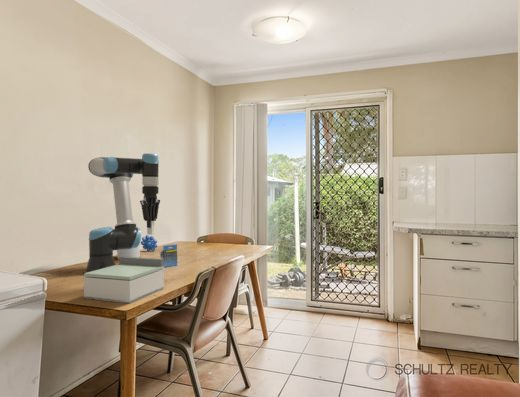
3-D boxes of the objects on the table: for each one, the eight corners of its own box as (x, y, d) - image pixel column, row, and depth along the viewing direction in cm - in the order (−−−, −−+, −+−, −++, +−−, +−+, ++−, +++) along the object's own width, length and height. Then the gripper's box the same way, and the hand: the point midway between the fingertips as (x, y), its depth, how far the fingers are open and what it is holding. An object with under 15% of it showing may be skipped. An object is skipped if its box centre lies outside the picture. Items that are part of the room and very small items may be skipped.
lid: (84, 276, 142) (84, 265, 142) (122, 265, 163) (122, 256, 163) (130, 280, 135) (130, 268, 135) (163, 268, 156) (163, 258, 155)
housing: (83, 298, 142) (83, 277, 141) (122, 285, 162) (121, 266, 162) (130, 303, 134) (129, 281, 134) (163, 288, 155) (163, 269, 155)
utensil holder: (135, 260, 226) (135, 232, 226) (112, 260, 226) (112, 232, 226) (143, 256, 241) (143, 230, 241) (121, 256, 241) (121, 230, 241)
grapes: (140, 252, 254) (140, 236, 254) (140, 251, 261) (140, 235, 261) (157, 252, 258) (157, 235, 258) (157, 250, 264) (157, 234, 264)
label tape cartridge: (174, 264, 210) (173, 243, 210) (177, 265, 207) (177, 244, 207) (160, 266, 204) (160, 245, 204) (163, 267, 201) (163, 245, 201)
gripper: (152, 185, 180) (152, 232, 181) (135, 185, 168) (135, 235, 169) (164, 185, 178) (164, 233, 179) (148, 185, 165) (148, 236, 166)
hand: (150, 234), depth 174 cm, fingers closed
